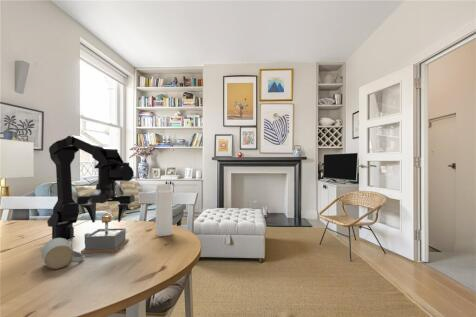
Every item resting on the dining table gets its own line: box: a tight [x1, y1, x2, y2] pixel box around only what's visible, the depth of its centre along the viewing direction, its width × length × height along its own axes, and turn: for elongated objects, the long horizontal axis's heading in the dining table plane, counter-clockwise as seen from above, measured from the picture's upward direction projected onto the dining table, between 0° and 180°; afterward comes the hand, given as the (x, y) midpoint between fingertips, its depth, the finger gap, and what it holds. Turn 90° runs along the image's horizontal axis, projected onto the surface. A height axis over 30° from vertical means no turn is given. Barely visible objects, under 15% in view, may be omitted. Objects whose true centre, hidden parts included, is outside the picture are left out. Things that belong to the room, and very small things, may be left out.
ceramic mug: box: [41, 238, 85, 270], centre depth 77 cm, size 11×8×8 cm
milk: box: [155, 183, 173, 238], centre depth 109 cm, size 6×6×22 cm
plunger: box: [92, 215, 121, 236], centre depth 92 cm, size 8×8×7 cm
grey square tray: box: [80, 227, 130, 255], centre depth 92 cm, size 14×12×6 cm
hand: (106, 222), depth 92 cm, fingers open, 9 cm apart
